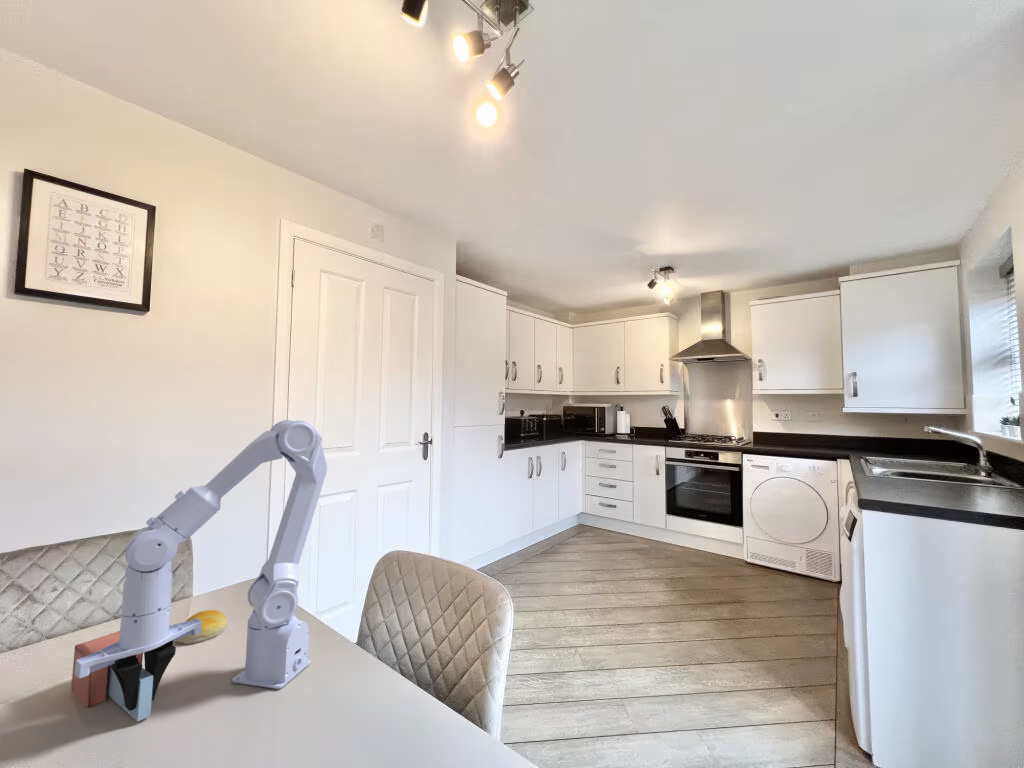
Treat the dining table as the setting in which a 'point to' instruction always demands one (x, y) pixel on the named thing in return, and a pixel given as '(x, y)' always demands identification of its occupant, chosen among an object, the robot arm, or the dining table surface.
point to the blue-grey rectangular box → (143, 693)
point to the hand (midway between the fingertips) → (139, 703)
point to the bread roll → (206, 626)
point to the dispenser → (96, 682)
